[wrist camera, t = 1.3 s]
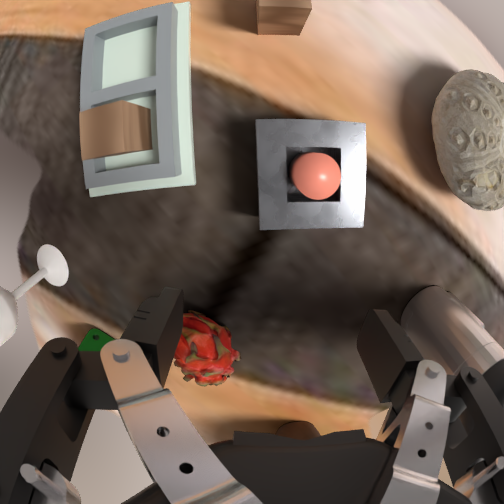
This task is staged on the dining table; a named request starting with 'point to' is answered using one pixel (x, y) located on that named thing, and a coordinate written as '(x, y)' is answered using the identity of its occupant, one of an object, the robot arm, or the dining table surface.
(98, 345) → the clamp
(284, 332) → the dining table surface
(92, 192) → the gray compartment tray
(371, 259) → the dining table surface
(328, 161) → the button
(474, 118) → the decorative shell
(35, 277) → the champagne flute
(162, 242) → the dining table surface
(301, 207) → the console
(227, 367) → the dragon fruit
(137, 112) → the block
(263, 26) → the walnut billet
